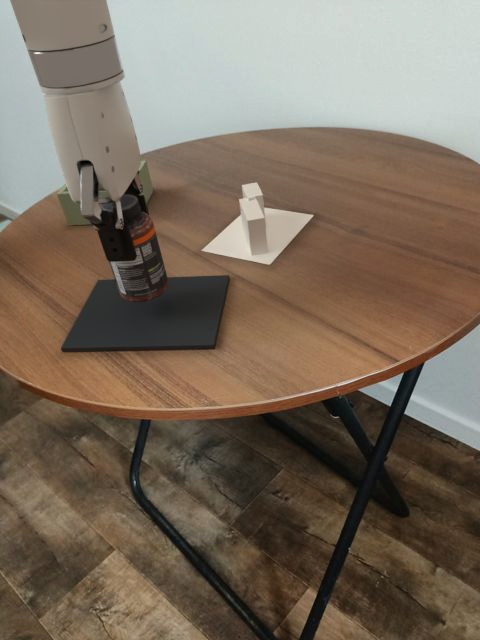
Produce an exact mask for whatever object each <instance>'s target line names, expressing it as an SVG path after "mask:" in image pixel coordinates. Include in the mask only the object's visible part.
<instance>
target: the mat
mask: <svg viewBox="0 0 480 640" xmlns="http://www.w3.org/2000/svg"><path fill="white" fill-rule="evenodd" d="M167 278H168V287H167V289H166V291H165V292H164V293H163V294H161V295H160V296H159V297H157V298H155V299H153V300H150V301H146V302H130V301H128V300H126V299H124V298H123V297H122V296H121V295H120V292H119V290H118V287H117V285H116V281H115V279H97V281H96V282H95V285H94V287H93V288H92V290H91V291H90V293H89V296H88V297H87V299H86V301H85V302H84V305H83V307H82V308H81V310H80V312H79V313H78V315H77V318H76V320H75V321H74V323H73V325H72V326H71V329H70V331H69V332H68V334H67V336H66V337H65V339H64V341H63V343H62V345H61V347H60V350H61V352H62V353H66V352H67V353H74V352H113V351H114V352H116V351H119V352H121V351H122V352H123V351H125V352H126V351H167V350H168V351H169V350H170V351H171V350H172V351H173V350H214V349H215V348H216V343H217V338H218V335H219V329H220V325H221V321H222V315H223V312H224V306H225V303H226V297H227V293H228V287H229V283H230V279H231V278H230V275H229V274H224V275H222V274H221V275H197V276H196V275H194V276H193V275H192V276H167Z"/></svg>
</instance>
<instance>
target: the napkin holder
mask: <svg viewBox="0 0 480 640" xmlns="http://www.w3.org/2000/svg"><path fill="white" fill-rule="evenodd" d="M241 191H242V192H241V193H242V198H238V200H239V203H238V204H239V210H240V215H239V216H237V217H236V218H235V219H234V220H233V221H232V222H231V223H230V224H229V225H228V226H227V227H225V228H224V229H223V230H222V231H220V233H219V234H218V235H216V237H214V238H213V239H212V240H211V241H210V242H209V243H208V244H206V245H205V246H204V247H203V248H202V249H201V250H200V251H201V252H204V253H210V254H215V255H220V256H224V257H230V258H234V259H238V260H243V261H247V262H255V263H257V264H258V263H259V264H263V265H268V266H270V265H271V264H272V263H273V262H275V260H276V259H277V257H278V256H279V255H280V254H281V253H282V252H283V251H284V250H285V248H286V247H288V245H289V244H290V243H291V242H292V241H293V240H294V239H295V237H296V236H298V234H299V233H300V232H301V231H302V230H303V228H304V227H305V226H306V225H308V223H309V222H310V221H311V220H312V218H313V217H314V216H315V215H314V214H308V213H303V212H296V211H290V210H284V209H278V208H271V207H265V204H264V203H265V202H264V194H263V191H262V189H261V187H260V186H259V184H258V182H251V183H244V184H241Z"/></svg>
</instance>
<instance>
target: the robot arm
mask: <svg viewBox="0 0 480 640" xmlns="http://www.w3.org/2000/svg"><path fill="white" fill-rule="evenodd" d="M9 1H10V4H11V7H12V10H13V13H14V16H15V19H16V22H17V24H18V27H19V30H20V33H21V36H22V38H23V41H24V45H25V47H26V49H27V53H28V56H29V59H30V61H31V65H32V67H33V70H34V74H35V76H36V80H37V82H38V85H39V88H40V91H41V92H42V93H44V96H43V99H44V104H45V111H46V115H47V120H48V126H49V130H50V133H51V137H52V138H51V139H52V142H53V145H54V149H55V153H56V156H57V160H58V162H59V166H60V169H61V172H62V176H63V179H64V183H66V185H67V188H68V191H69V194H70V196H71V199H72V200H73V201H74V202H75V203H81V215H82V216H83V217H84V218H85V219H87V220H88V221H90V223H91V225H92V226H93V229H94V231H96V232H97V234H98V238H99V240H100V244H101V247H102V249H103V253H104V255H105V258H106V261H108V263H109V262H119V261H134V260H135V259H136V257H137V254H136V250H135V247H134V244H133V240H132V237H131V233H130V230H129V226H128V224H124V222H123V215H122V208H121V201H120V198H121V196H122V195H123V194H130V195H134V196H135V197H137V199H138V202H139V205H140V207H141V211H142V212H144V213H147V214H148V215H149V216H150V213H149V209H148V205H147V204H148V203H147V204H146V201H145V197H144V195H139V194H143V185H142V183H141V180H140V178H139V168H140V165H141V161H142V157H141V156H142V155H141V150H140V147H139V145H140V144H139V142H138V137H137V132H136V130H135V125H134V122H133V118H132V115H131V112H130V109H129V108H130V107H129V105H128V102H127V99H126V95H125V92H124V89H123V86H122V83H121V81H123V79H125V77H126V75H125V70H124V68H123V63H122V58H121V54H120V51H119V46H118V43H117V42H118V41H117V38H116V34H115V30H114V26H113V22H112V17H111V14H110V10H109V5H108V0H9ZM99 191H109V194H110V196H109V197H99ZM107 203H111V205H112V211H113V215H112V214H111V213H110V212H108V211H107V210H106V211H103V210H102V208H101V207H100V204H107Z"/></svg>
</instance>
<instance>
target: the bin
mask: <svg viewBox="0 0 480 640" xmlns="http://www.w3.org/2000/svg"><path fill="white" fill-rule="evenodd" d="M139 178H140V180H141V183H142V185H143V194H139V195H144V197H145V201H146V204H148V202H149V200H150V198H151V197H152V195H153V193H154V187H153V183H152V179H151V175H150V171H149V166H148V162H147V160H141V165H140V168H139ZM56 196H57V198H58V201H59V204H60V207H61V209H62V212H63V215H64V217H65V220H66V223H67V225H68V227H69V226H86V225H89V226H90V225H92V224H91V223H90V221H88V220H87V219H85V218H84V217H83V216H82V215H81V203H75V202H74V201H73V200H72V199H71V196H70V194H69V191H68V188H67V185H66V182H64V184H63V186H61V188H60V189H59V190H58V192H57V193H56ZM109 196H110V194H109V191H99V197H109ZM100 206H101V204H100Z"/></svg>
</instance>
